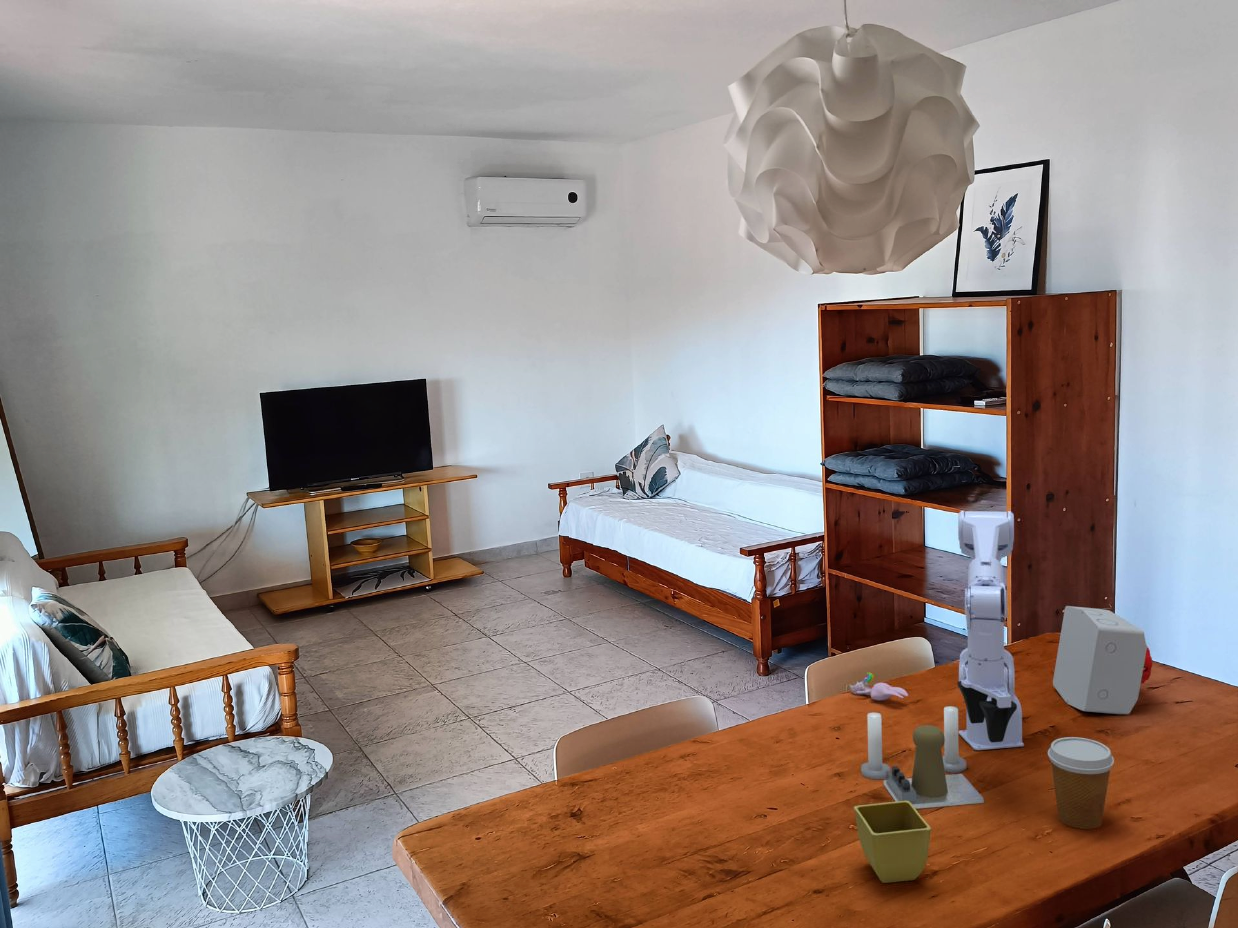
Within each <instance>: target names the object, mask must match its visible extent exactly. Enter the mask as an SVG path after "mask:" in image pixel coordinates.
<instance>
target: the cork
mask: <svg viewBox="0 0 1238 928" xmlns="http://www.w3.org/2000/svg"><path fill="white" fill-rule="evenodd" d="M912 741H913V744H914V745H915V753H914V759H913V761H914V762H913V769H912V776H911V778H912V783H911V785H912V787H913V788H914V789H915V791H916V794H918V795H921V796H924V797H940V796H944V795H945V794H947V792H948V789H947V783H946V776H945V775H946V772H945V770H944V763H943V757H942V756H943V750H942V748H943V746H944V742H945V738H944V731H943V730H942V729H941V728H939V727H938V726H934V725H930V724H925V725H924V724H922V725H919V726H917V727H916V728H914V730H913V733H912Z"/></svg>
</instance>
